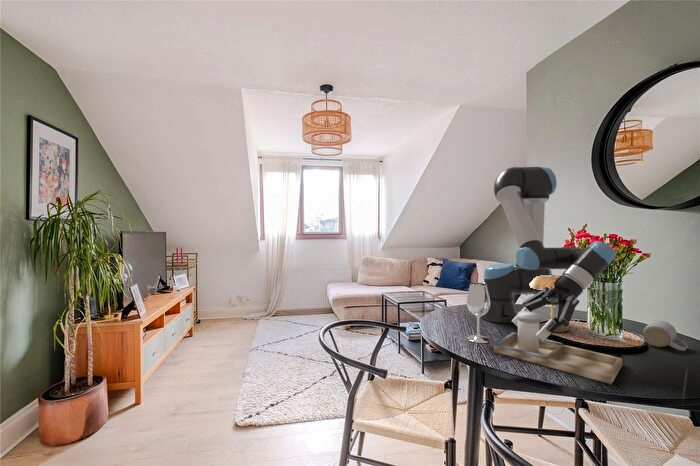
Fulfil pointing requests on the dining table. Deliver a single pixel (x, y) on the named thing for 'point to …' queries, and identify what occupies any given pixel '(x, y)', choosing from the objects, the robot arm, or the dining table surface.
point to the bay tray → (564, 358)
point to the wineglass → (478, 307)
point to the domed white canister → (528, 331)
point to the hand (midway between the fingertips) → (526, 330)
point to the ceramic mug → (662, 335)
